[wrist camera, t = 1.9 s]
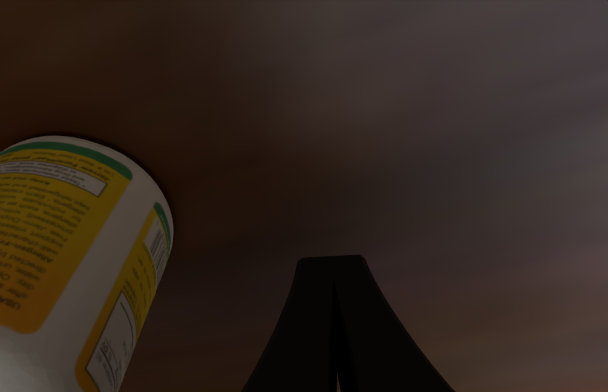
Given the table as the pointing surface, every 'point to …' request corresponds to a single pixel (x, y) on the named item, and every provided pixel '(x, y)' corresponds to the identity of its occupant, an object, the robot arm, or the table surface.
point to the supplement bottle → (75, 263)
